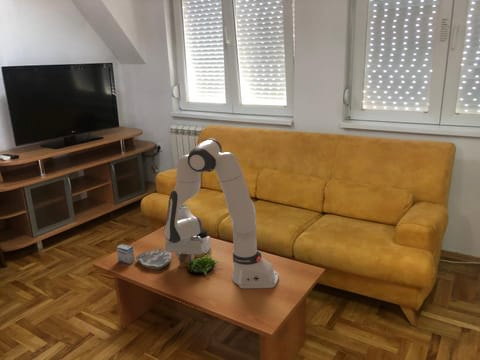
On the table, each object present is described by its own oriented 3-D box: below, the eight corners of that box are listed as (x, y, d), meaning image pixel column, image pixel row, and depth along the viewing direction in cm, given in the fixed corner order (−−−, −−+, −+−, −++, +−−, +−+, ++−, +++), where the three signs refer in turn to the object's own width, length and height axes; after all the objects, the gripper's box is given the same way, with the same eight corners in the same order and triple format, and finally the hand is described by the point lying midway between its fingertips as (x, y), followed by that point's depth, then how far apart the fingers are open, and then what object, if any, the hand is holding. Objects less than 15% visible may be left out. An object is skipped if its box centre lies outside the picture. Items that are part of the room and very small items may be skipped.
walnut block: (192, 262, 218) (191, 251, 216) (188, 266, 214) (188, 256, 212) (183, 261, 219) (182, 251, 217) (179, 266, 215) (178, 255, 213)
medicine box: (118, 261, 222) (115, 247, 219) (123, 257, 226) (121, 243, 223) (129, 264, 218) (127, 250, 216) (135, 260, 222) (133, 246, 219)
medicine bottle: (210, 247, 233) (209, 228, 229) (206, 253, 226) (205, 233, 222) (199, 246, 235) (197, 227, 231) (194, 252, 228) (192, 232, 224)
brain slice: (180, 259, 222) (180, 254, 221) (158, 274, 209) (158, 269, 208) (153, 251, 232) (152, 246, 231) (130, 264, 219) (130, 259, 218)
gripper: (204, 234, 212) (206, 258, 216) (167, 231, 216) (169, 255, 221) (200, 239, 206) (202, 264, 210) (162, 237, 211) (165, 261, 215)
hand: (185, 259), depth 216 cm, fingers closed on walnut block, 5 cm apart
